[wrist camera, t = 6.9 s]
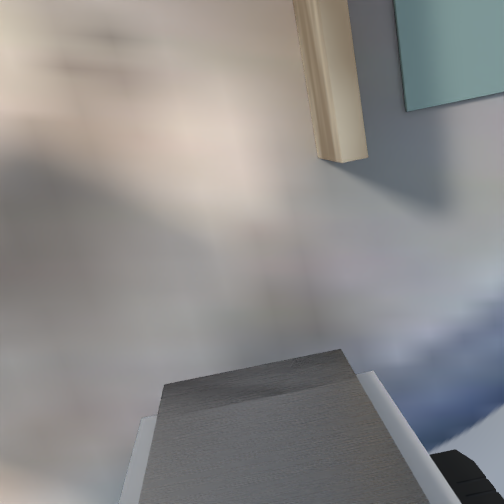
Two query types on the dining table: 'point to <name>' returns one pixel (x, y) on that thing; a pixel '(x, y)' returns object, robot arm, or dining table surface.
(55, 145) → the dining table surface
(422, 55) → the mat
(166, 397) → the angle block
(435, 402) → the dining table surface
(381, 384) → the robot arm
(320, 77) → the wooden corner frame
